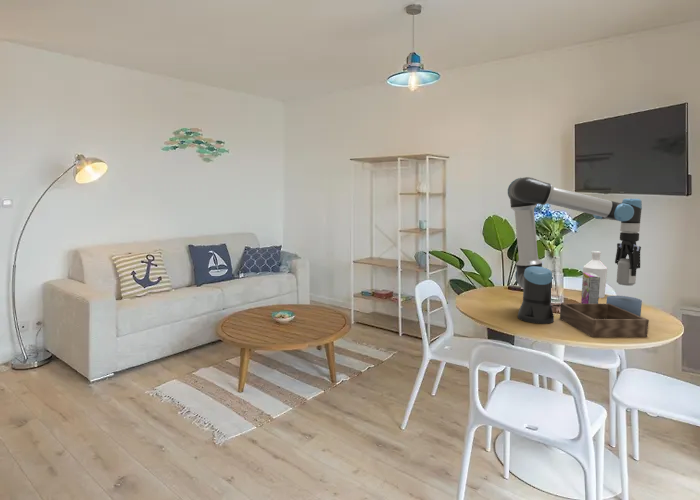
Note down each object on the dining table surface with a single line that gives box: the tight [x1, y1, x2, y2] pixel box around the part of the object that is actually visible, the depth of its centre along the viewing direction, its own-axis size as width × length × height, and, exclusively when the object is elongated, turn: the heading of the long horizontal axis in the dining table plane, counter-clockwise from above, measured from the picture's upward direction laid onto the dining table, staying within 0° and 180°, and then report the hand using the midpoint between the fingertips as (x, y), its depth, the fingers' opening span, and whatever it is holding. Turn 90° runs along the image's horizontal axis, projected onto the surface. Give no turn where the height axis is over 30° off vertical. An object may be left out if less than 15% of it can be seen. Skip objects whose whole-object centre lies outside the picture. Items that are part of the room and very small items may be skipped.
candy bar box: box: [580, 272, 600, 304], centre depth 224 cm, size 11×5×16 cm, turn 168°
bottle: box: [582, 250, 608, 299], centre depth 247 cm, size 12×12×25 cm
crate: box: [559, 303, 650, 338], centre depth 189 cm, size 22×26×7 cm
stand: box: [605, 295, 643, 317], centre depth 207 cm, size 14×14×8 cm
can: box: [616, 257, 637, 287], centre depth 205 cm, size 8×8×12 cm
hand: (625, 280), depth 205 cm, fingers closed on can, 7 cm apart
